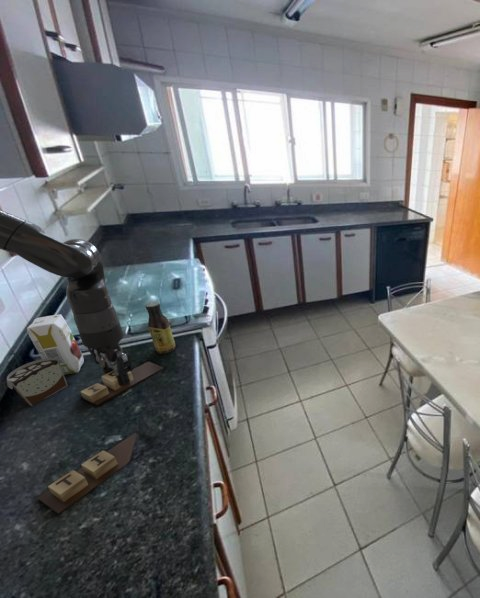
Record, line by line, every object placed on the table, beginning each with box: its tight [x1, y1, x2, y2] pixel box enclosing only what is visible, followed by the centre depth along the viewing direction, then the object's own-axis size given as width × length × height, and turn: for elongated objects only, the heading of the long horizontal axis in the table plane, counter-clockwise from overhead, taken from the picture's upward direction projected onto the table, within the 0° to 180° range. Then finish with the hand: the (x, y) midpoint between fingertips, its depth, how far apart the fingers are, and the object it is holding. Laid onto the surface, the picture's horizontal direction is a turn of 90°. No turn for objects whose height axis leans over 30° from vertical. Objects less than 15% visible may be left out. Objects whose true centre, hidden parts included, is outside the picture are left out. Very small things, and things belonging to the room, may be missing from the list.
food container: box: [6, 358, 69, 407], centre depth 97 cm, size 12×6×10 cm, turn 168°
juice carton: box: [26, 313, 85, 376], centre depth 106 cm, size 8×9×19 cm
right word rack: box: [80, 361, 165, 407], centre depth 106 cm, size 20×8×3 cm, turn 158°
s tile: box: [100, 371, 134, 389], centre depth 85 cm, size 4×4×3 cm
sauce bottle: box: [145, 301, 177, 355], centre depth 119 cm, size 7×6×20 cm
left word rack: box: [36, 432, 138, 516], centre depth 78 cm, size 20×8×3 cm, turn 158°
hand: (118, 380), depth 85 cm, fingers closed on s tile, 4 cm apart
